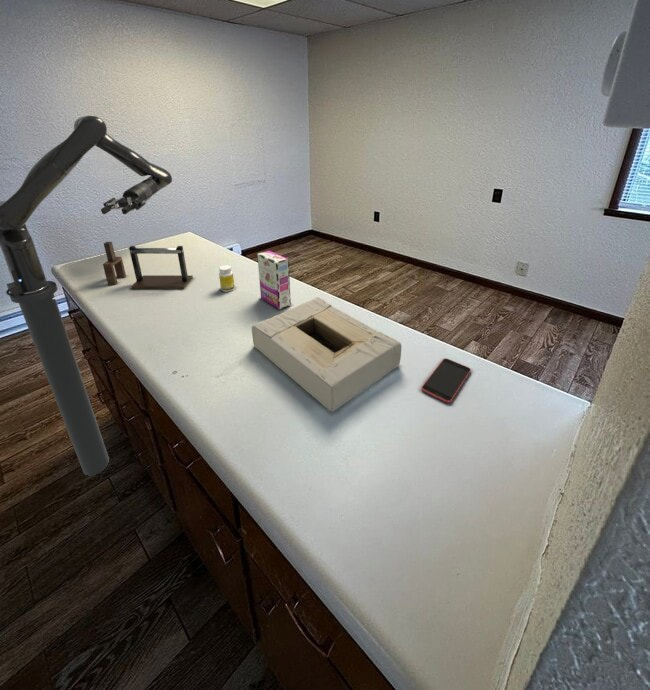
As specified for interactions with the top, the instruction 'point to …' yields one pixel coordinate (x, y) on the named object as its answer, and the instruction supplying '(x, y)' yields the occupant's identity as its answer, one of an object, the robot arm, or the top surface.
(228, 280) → the supplement bottle
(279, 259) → the candy bar box
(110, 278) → the brown u-shaped bracket
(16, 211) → the robot arm
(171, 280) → the rack
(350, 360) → the box
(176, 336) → the top surface
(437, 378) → the smartphone
